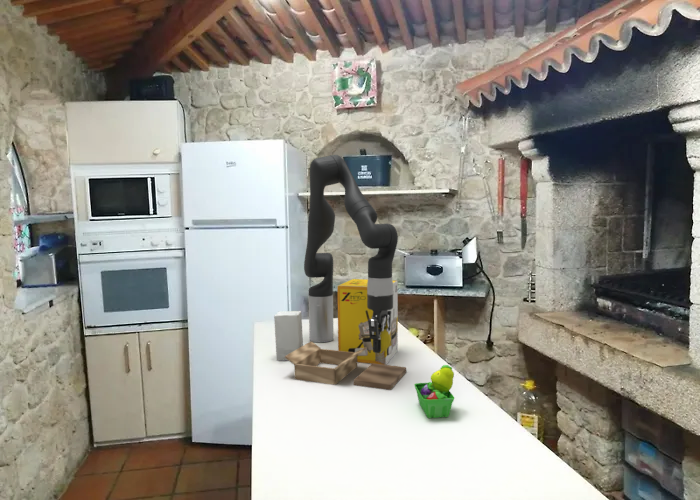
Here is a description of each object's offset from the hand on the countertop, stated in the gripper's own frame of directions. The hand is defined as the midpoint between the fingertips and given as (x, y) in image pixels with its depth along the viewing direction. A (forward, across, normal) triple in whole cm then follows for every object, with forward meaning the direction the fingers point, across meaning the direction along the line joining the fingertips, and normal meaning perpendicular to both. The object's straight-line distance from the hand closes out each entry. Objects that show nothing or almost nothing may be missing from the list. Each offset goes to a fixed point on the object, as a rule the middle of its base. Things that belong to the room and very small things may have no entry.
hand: (380, 349), depth 145 cm
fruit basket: (+9, +17, +20) cm, 28 cm away
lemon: (+1, 0, 0) cm, 1 cm away
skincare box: (+9, -8, -35) cm, 37 cm away
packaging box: (+9, -20, -11) cm, 25 cm away
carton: (+9, +1, -17) cm, 19 cm away
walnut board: (+9, 0, 0) cm, 9 cm away
